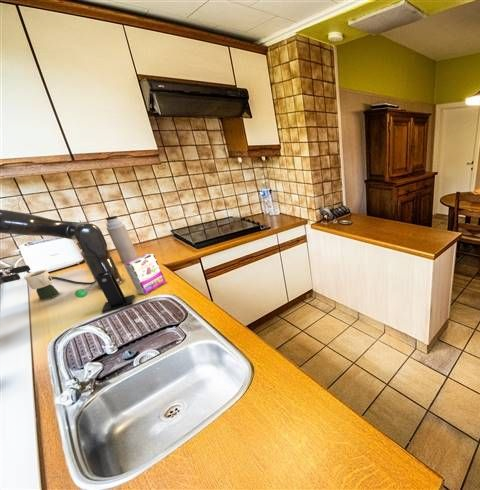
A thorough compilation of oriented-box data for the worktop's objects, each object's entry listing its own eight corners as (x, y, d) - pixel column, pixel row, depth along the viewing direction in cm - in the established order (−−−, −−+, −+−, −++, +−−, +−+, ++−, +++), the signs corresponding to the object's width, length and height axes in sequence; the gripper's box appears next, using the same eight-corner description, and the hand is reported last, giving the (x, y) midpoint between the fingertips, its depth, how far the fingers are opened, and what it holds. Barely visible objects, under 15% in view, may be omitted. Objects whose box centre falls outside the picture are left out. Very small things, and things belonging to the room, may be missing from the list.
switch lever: (79, 300, 109) (70, 295, 107) (82, 297, 112) (73, 291, 110) (111, 279, 113) (103, 274, 111) (113, 276, 116) (105, 271, 114)
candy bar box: (158, 281, 136) (146, 253, 129) (166, 282, 135) (154, 253, 128) (137, 294, 126) (122, 263, 119) (145, 294, 125) (131, 264, 118)
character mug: (65, 295, 128) (50, 272, 123) (43, 303, 123) (28, 279, 117) (56, 291, 133) (42, 268, 128) (35, 298, 127) (20, 275, 122)
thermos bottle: (133, 257, 168) (114, 214, 157) (142, 258, 165) (123, 215, 154) (119, 262, 161) (98, 218, 150) (128, 264, 158) (107, 219, 147)
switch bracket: (102, 313, 113) (85, 281, 107) (106, 304, 119) (90, 274, 113) (132, 304, 118) (117, 273, 112) (134, 296, 124) (120, 266, 118)
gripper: (-68, 286, 84) (9, 270, 92) (-40, 269, 95) (26, 256, 103) (-51, 305, 87) (21, 288, 95) (-26, 287, 98) (37, 273, 106)
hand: (24, 271), depth 99 cm, fingers open, 8 cm apart
